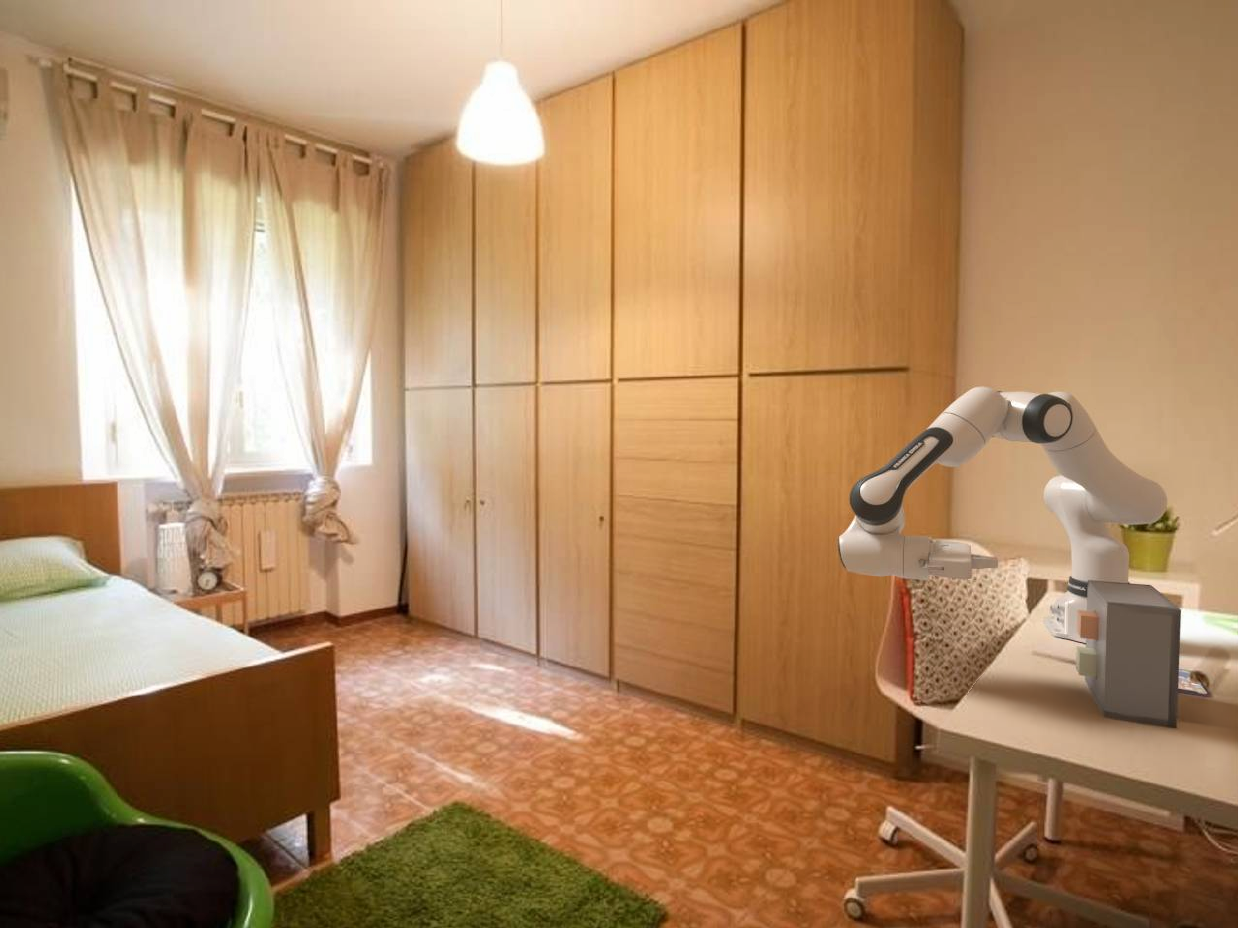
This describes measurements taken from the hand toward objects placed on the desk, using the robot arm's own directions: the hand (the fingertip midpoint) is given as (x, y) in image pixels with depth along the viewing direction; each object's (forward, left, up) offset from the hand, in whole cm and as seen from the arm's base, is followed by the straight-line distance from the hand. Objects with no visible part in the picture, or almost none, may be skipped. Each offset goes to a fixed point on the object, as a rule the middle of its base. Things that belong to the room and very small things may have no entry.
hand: (998, 562), depth 132 cm
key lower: (+4, +15, -19) cm, 25 cm away
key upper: (+4, +15, -12) cm, 20 cm away
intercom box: (+6, +20, -24) cm, 32 cm away
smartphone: (-8, +35, -24) cm, 44 cm away
